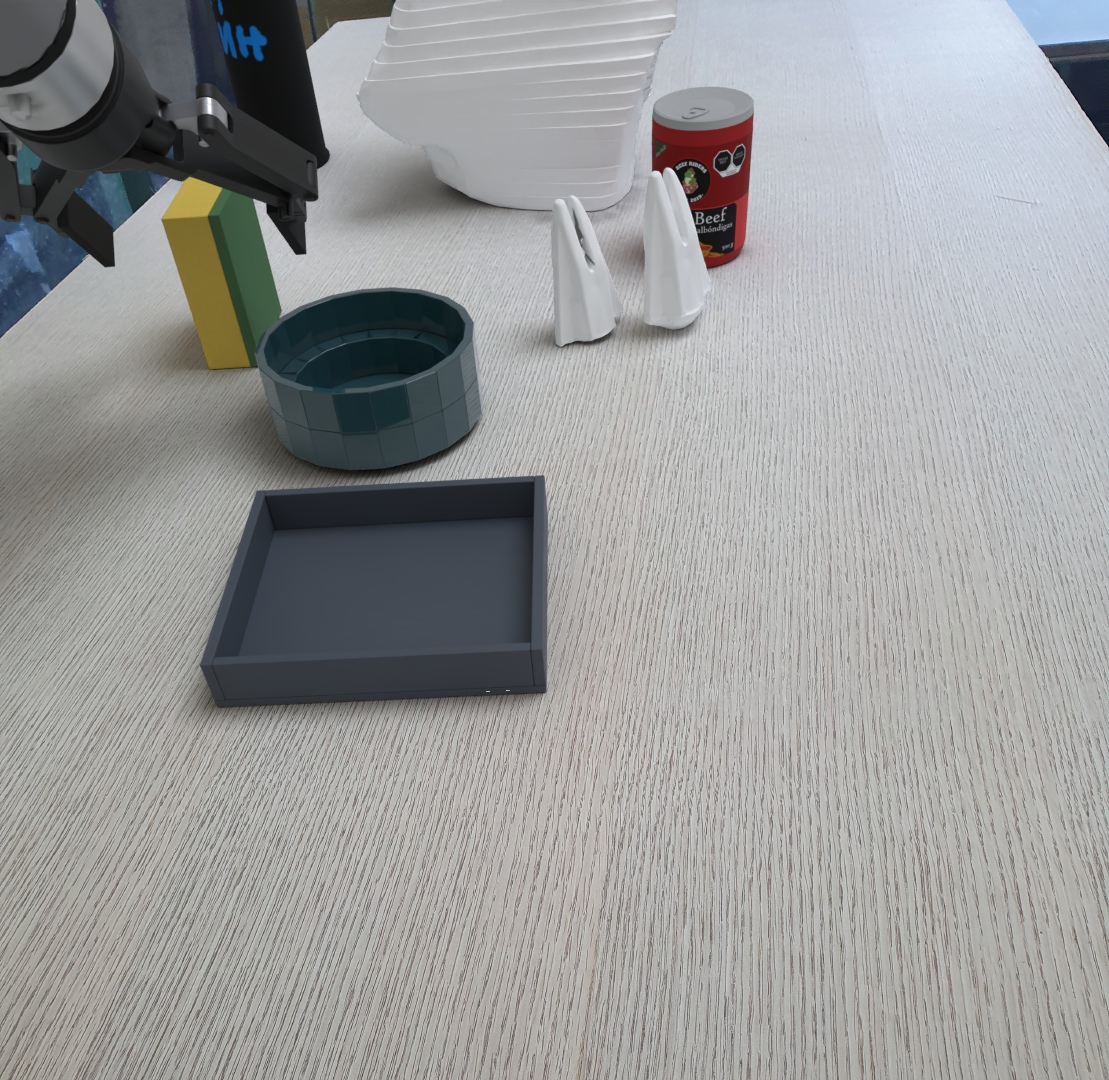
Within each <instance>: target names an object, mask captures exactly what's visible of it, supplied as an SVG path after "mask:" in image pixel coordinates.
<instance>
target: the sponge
mask: <svg viewBox="0 0 1109 1080" xmlns="http://www.w3.org/2000/svg"><path fill="white" fill-rule="evenodd" d="M176 192H177V193H176V194H175V195H174V198H173V199H172V201H171V202H170V203H169V205H168V207H167V209H166V210H165V212H164V214H163V215H162V217H161V222H162V226H163V229H164V232H165V235H166V238H167V241H168V244H169V248H170V251H171V254H172V256H173V260H174V263H175V266H176V269H177V272H178V273H177V274H178V275H179V279H180V282H181V284H182V285H181V286H182V289H183V291H184V294H185V297H186V300H187V303H188V306H189V310H190V313H191V316H192V319H193V320H192V321H193V322H194V325H195V329H196V332H197V335H198V338H199V341H200V344H201V347H202V350H203V353H204V357H205V361H206V363H207V367H208V369H210V370H220V369H221V370H222V369H237V368H251V367H252V368H255V367H258V364H257V361H256V357H255V353H254V352H255V349H256V346H257V344H258V341H259V339H260V336H261V335H262V334H263V333H264V332H265V331H266V330H267V329H268V328H269V327H270V326H271V325H272V324H273V323H274V322H275V321H276V320H277V319H279V318H280V317H281V314H282V311H283V310H282V306H281V302H280V297H279V293H278V291H277V290H278V289H277V286H276V283H275V278H274V274H273V271H272V266H271V263H270V259H269V255H268V251H267V248H266V244H265V239H264V235H263V231H262V227H261V224H260V219H259V216H258V212H257V208H256V205H255V201H254V200H255V199H252V198H249V197H247V196H244V195H241V194H238V193H235V192H232V191H229V190H227V189H224V188H221V187H218V186H215V185H212V184H209V183H207V182H204V181H201V180H198V179H195V178H192V177H189V178H187V179H186V180H185V181H183V182H182V184H181V186H180V187H179V189H178V191H176Z"/></svg>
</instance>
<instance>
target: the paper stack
mask: <svg viewBox="0 0 1109 1080" xmlns="http://www.w3.org/2000/svg"><path fill="white" fill-rule="evenodd" d="M677 13H678V0H395V2H394V3H393V6H392V10H391V14H390V19H389V20H388V22H387V27H386V31H385V35H384V36H385V37H384V39H383V40H382V44H381V46H380V48H379V50H378V53H377V54H376V57H375V58H374V59H373V60H372V62H371V65H370V68H369V70H368V71H369V72H368V74H367V75H366V77H364V79H363V81H362V83H361V85H360V88H359V91H357V92H356V93H355V96H356V99H357V101H358V105H359V107H360V109H361V111H362V114H363V115H364V116H365V117H366V118H368V119H369V120H370V121H371V122H372V123H373V125H375V126H376V127H378V128H379V129H380V130H381V131H383V132H384V133H386V134H387V135H389V136H390V137H392V138H393V139H395V140H397V141H399V142H401V143H402V144H404V145H409V146H414V147H422V150H423V151H424V153H425V156H426V157H427V158H428V159H429V163H430V166H431V169H432V172H433V174H434V175H435V178H436V179H437V180H439V181H440V182H442V183H443V184H446V185H447V186H449V187H451V188H453V189H454V190H456V191H459V192H461V193H463V194H464V195H465V196H467V197H469V198H471V199H474V200H477V201H480V202H482V203H484V204H488V205H491V206H496V207H499V208H500V207H501V208H509V209H519V210H530V211H531V210H533V211H534V210H535V211H553V204H554V202H555V201H556V200H557V199H562V200H564V202H565V204H566V206H567V209H568V198H569V197H570V196H571V195H572V196H575V197H576V198H578V200H579V201H580V203H581V204H582V206H583V208H584V210H585V211H586V212H596V211H603V210H606V209H608V208H610V207H613V206H615V205H616V204H618V203H619V202H621V200H622V199H624V198H625V196H626V195H628V194H629V192H630V191H631V188H632V186H633V182H634V176H635V175H634V174H635V164H636V163H635V162H636V145H637V136H638V132H639V131H638V130H639V124H640V121H641V117H642V113H643V109H644V106H645V103H646V102H647V100H648V98H649V97H650V95H651V94H652V93H651V91H652V89H653V88H652V84H653V81H654V74H655V71H656V65H657V61H658V56H659V53H660V51H661V48H662V46H663V44H664V41H666V40H667V39H669V38H670V37H672V35H674V33H673V31H674V30H675V28H676V24H677V17H678V16H677V15H675V14H677Z"/></svg>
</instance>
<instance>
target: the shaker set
mask: <svg viewBox="0 0 1109 1080" xmlns="http://www.w3.org/2000/svg"><path fill="white" fill-rule="evenodd" d="M643 209H644V210H643V222H642V223H643V224H642V240H643V250H644V285H643V287H644V288H643V292H644V293H643V294H644V295H643V299H644V300H643V321H644V323H645V324H646V325H649V326H655V327H656V326H657V327H662V328H663V329H667V330H672V331H673V330H674V331H675V330H681V329H683V328H686V327H688V326H689V325H691V324H692V323H693V322H694V321H695V320H696V318H697V317H698V316H699V315H700V313H701V312H702V311H703V309H704V307H705V305H706V297H707V296H708V294H709V293H710V292H711V290H712V289H713V287H712V279H711V277H710V275H709V272H708V267H707V268H706V264H705V262H704V258H703V255H702V251H701V248H700V245H699V240H698V236H697V231H696V227H695V224H694V221H693V217H692V214H691V211H690V208H689V204H688V201H687V198H686V196H685V193H684V190H683V188H682V186H681V184H680V182H679V179H678V177H677V175H676V174H675V172H674V171H673V170H672V169H671V168H665V169H664V172H663V178H662V175H661V173H660V172H659V171H653V172H652V171H651V173H650V174H649V176H648V180H647V185H646V190H645V199H644V208H643ZM551 211H552V212H551V228H550V229H551V231H550V246H551V247H550V250H551V251H550V252H551V264H552V282H553V283H552V284H553V289H552V290H553V313H554V336H555V337H554V339H555V346H558V347H559V348H560V347H561V348H562V347H564V346H565V345H567V344H572V343H573V342H578V341H579V342H593V341H595V340H597V339H600V338H602V337H605V336H606V335H608V334H609V333H611V331H612V330H614V328H616V327H617V324H616V318H615V317H617V315H619V314H623V313H624V311H625V308H624V305H623V303H622V300H621V297H620V295H619V293H618V290H617V287H616V285H615V283H614V280H613V278H612V275H611V272H610V270H609V267H608V265H607V261H606V259H605V257H604V255H603V252H602V250H601V249H602V248H601V246H600V244H599V241H598V237H597V235H596V232H595V230H594V227H593V225H592V222H591V220H590V217H589V215H588V213H587V211H585V210H584V208H583V206H582V204H581V203H580V201H579V200H578V198H576V197H575V196H572V195H571V196H570V197H569V198H568V209H567V206H566V204H565V202H564V200H562V199H557V200H556V201H555V202H554V204H553V210H551ZM584 253H585V254H584Z"/></svg>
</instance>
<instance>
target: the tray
mask: <svg viewBox="0 0 1109 1080" xmlns="http://www.w3.org/2000/svg"><path fill="white" fill-rule="evenodd" d="M545 477H546V476H545V475H544V474H540V475H521V476H506V477H505V476H502V477H500V476H499V477H485V478H484V477H483V478H463V479H448V480H429V481H428V480H427V481H410V482H409V481H408V482H394V483H392V482H391V483H379V484H378V483H374V484H373V483H371V484H356V485H355V484H354V485H337V486H336V485H335V486H319V487H317V486H316V487H301V488H300V487H299V488H283V489H282V488H281V489H267V490H266V489H261V490H256V491H255V495H254V498H253V501H252V504H251V507H250V509H249V513H248V516H247V519H246V521H245V522H246V523H245V525H244V528H243V531H242V535H241V538H240V539H239V544H238V547H237V550H236V553H235V556H234V560H233V561H232V565H231V569H230V571H229V575H228V578H227V580H226V584H225V587H224V590H223V593H222V596H221V599H220V603H219V604H218V605H219V606H218V609H217V611H216V614H215V617H214V621H213V623H212V626H211V630H210V632H209V636H208V639H207V642H206V645H205V648H204V651H203V654H202V657H201V661H200V663H199V667H200V669H201V672H202V675H203V677H204V679H205V682H206V684H207V686H208V688H209V691H210V693H211V697H212V698H213V700H214V704H215V705H216V708H225V707H226V708H227V707H247V706H248V707H249V706H271V705H272V706H273V705H291V704H293V705H295V704H314V703H317V704H319V703H336V702H337V703H338V702H339V703H340V702H360V701H382V700H403V699H405V700H406V699H426V698H427V699H428V698H448V697H470V696H492V695H493V696H495V695H514V694H534V693H535V694H536V693H537V694H538V693H547V692H548V575H549V573H548V572H549V571H548V569H549V568H548V562H549V561H548V559H549V557H548V556H549V553H548V551H549V550H548V549H549V547H548V545H549V542H548V541H549V540H548V539H549V513H548V500H547V488H546V478H545ZM506 690H510V691H506ZM486 691H490V692H486Z"/></svg>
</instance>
